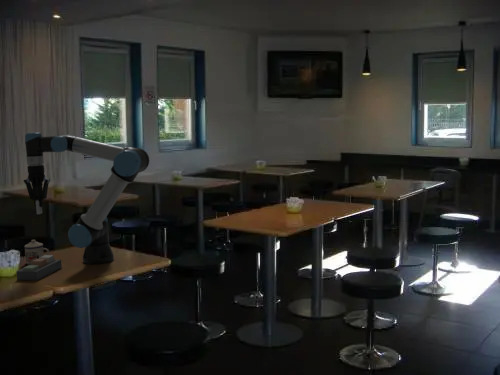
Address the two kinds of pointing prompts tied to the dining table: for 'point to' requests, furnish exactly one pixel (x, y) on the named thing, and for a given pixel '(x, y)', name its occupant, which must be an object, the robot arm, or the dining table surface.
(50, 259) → the white button
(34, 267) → the green button
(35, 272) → the button panel
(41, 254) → the teacup with lid
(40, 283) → the dining table surface
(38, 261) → the terracotta button
